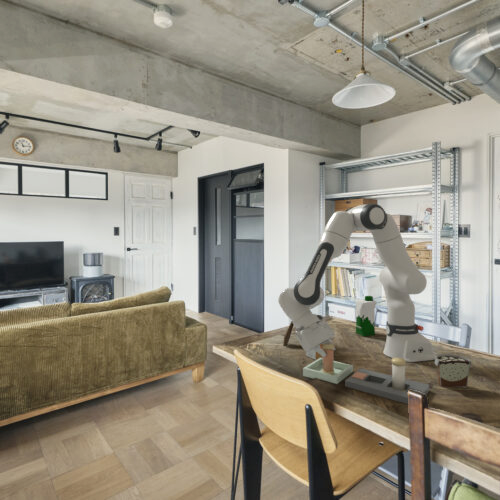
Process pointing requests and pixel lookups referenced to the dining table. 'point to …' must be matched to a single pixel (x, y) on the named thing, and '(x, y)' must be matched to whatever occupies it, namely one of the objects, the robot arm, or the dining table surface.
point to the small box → (314, 354)
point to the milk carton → (365, 316)
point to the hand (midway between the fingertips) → (329, 353)
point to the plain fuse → (398, 373)
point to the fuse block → (382, 385)
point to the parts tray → (316, 372)
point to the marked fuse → (328, 358)
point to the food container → (452, 370)
